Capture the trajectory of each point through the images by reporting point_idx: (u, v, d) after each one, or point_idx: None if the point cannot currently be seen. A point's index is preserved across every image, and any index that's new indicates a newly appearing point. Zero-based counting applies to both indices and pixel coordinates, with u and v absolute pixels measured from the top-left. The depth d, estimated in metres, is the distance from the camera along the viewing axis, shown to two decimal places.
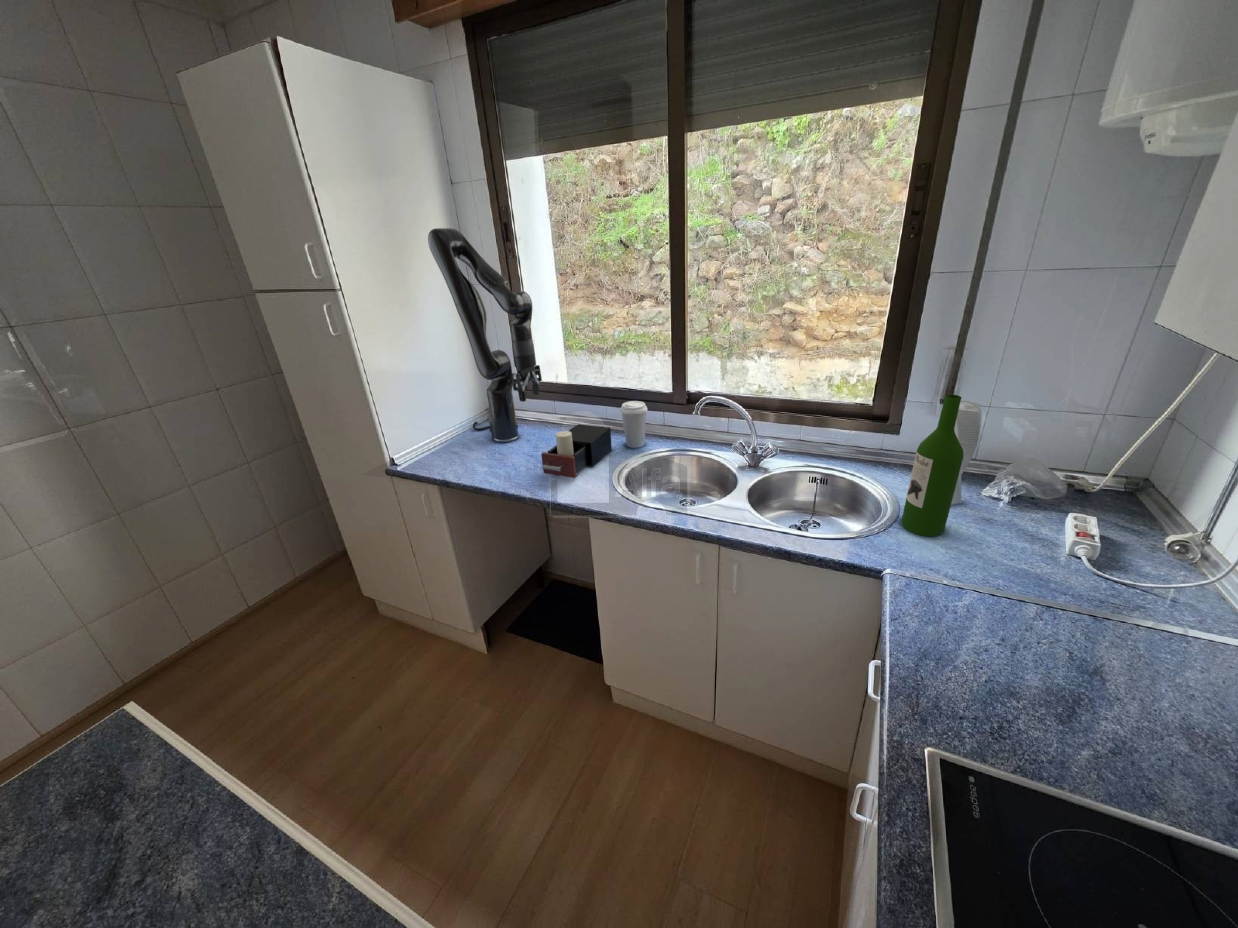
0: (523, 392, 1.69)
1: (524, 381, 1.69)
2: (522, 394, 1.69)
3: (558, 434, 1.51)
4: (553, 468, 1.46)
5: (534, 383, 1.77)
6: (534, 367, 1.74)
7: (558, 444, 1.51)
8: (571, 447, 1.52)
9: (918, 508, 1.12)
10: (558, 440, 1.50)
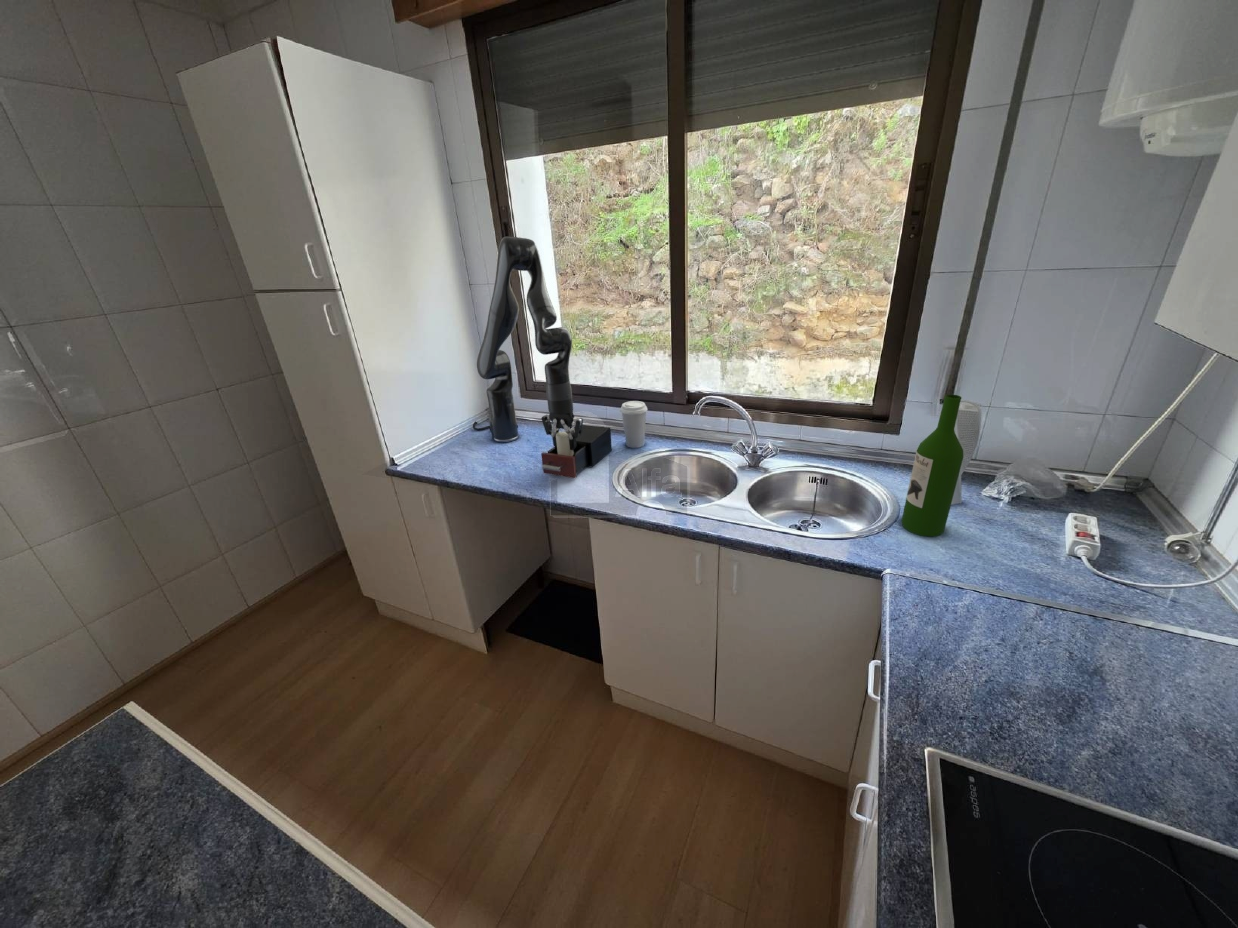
0: (554, 438, 1.52)
1: None
2: (553, 439, 1.53)
3: (558, 434, 1.51)
4: (553, 468, 1.46)
5: None
6: (574, 419, 1.47)
7: (558, 444, 1.51)
8: None
9: (918, 508, 1.12)
10: (558, 440, 1.50)
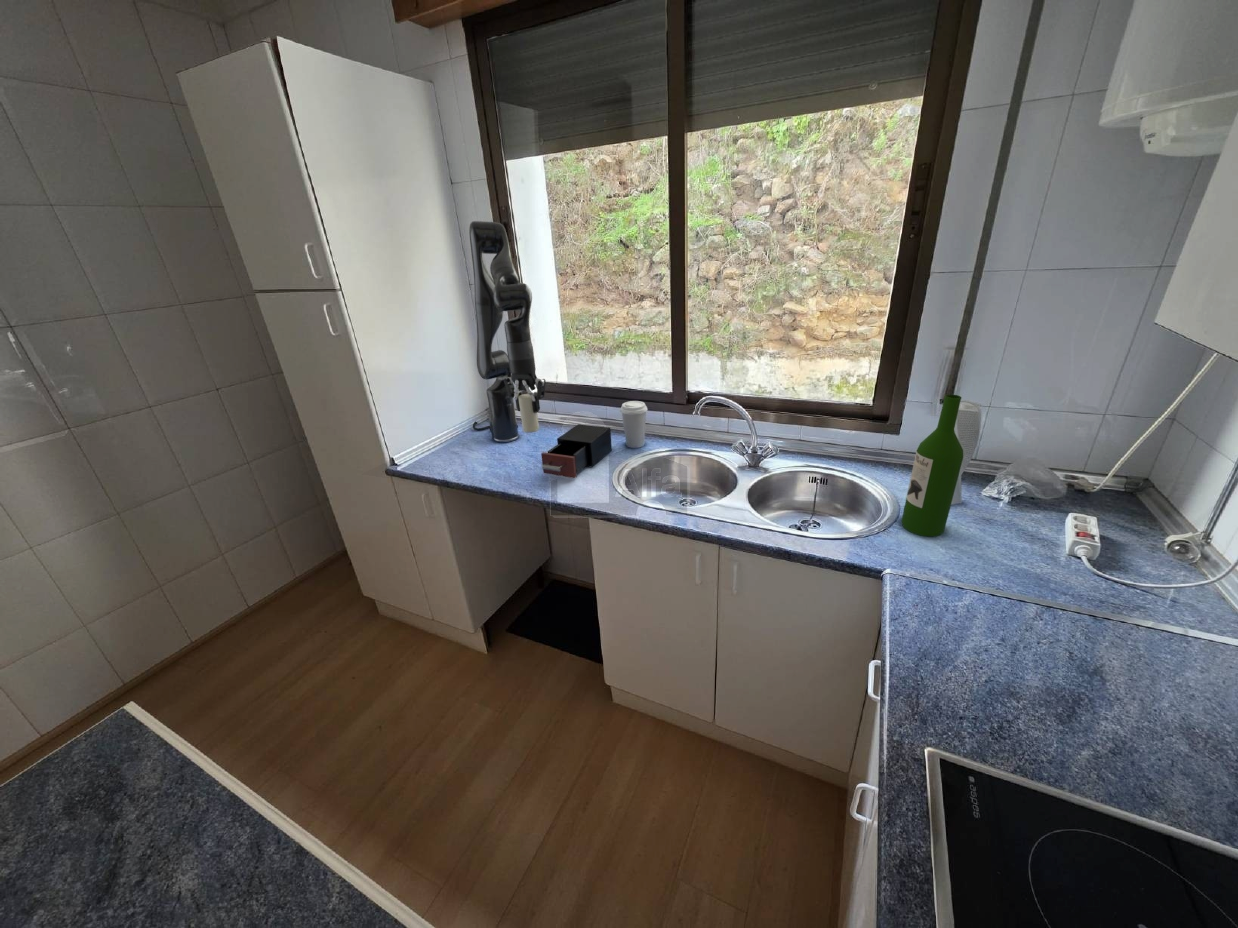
0: (517, 401, 1.49)
1: (515, 389, 1.47)
2: (516, 402, 1.49)
3: (521, 396, 1.47)
4: (553, 468, 1.46)
5: None
6: (536, 379, 1.43)
7: (521, 406, 1.47)
8: None
9: (918, 508, 1.12)
10: (521, 402, 1.46)
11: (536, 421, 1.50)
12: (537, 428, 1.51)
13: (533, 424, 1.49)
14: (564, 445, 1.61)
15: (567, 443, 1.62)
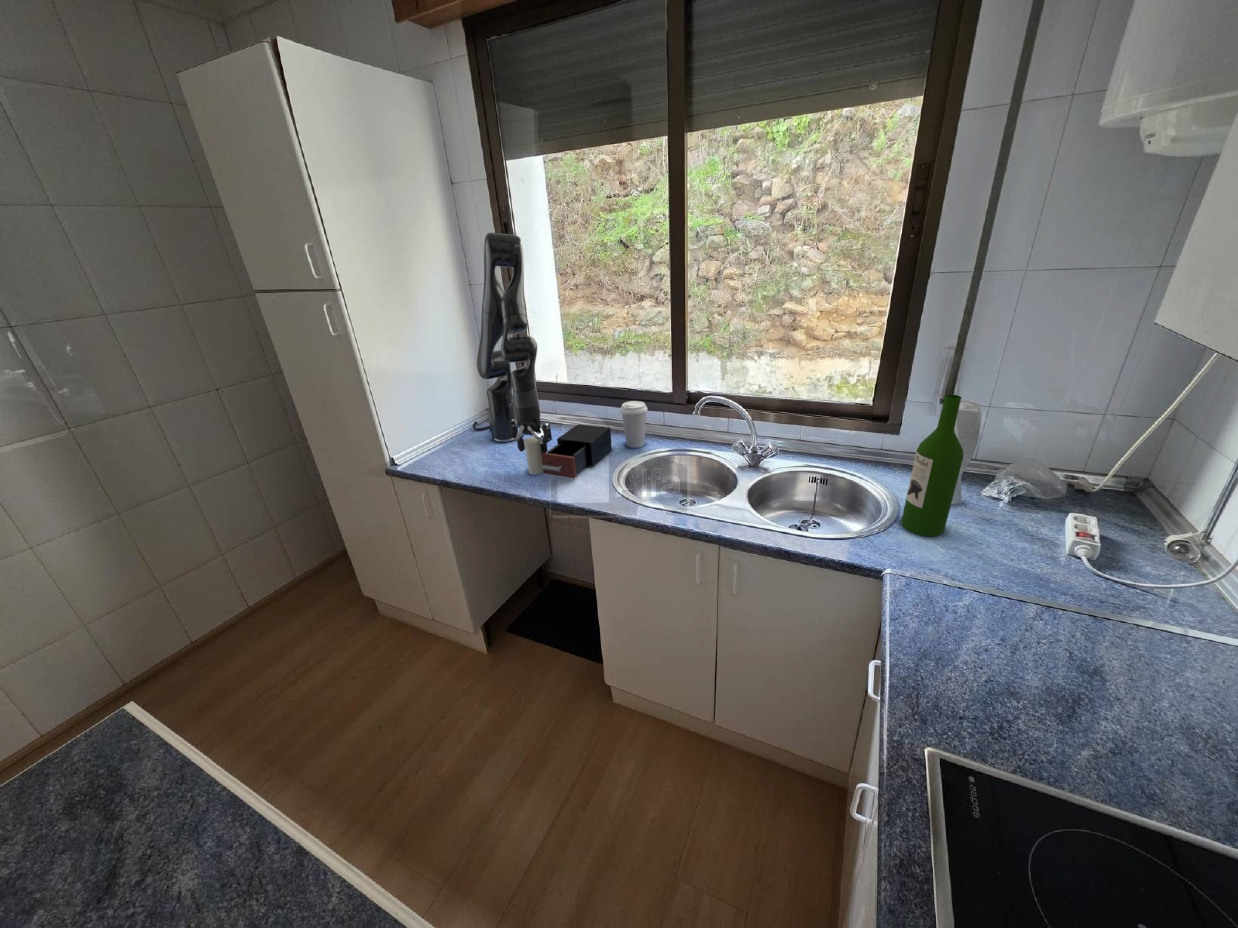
0: (518, 442, 1.55)
1: None
2: (518, 443, 1.56)
3: (526, 440, 1.53)
4: (553, 468, 1.46)
5: None
6: (540, 424, 1.49)
7: (527, 450, 1.53)
8: (540, 453, 1.54)
9: (918, 508, 1.12)
10: (526, 446, 1.52)
11: (541, 463, 1.56)
12: (542, 469, 1.57)
13: (538, 466, 1.55)
14: (564, 445, 1.61)
15: (567, 443, 1.61)
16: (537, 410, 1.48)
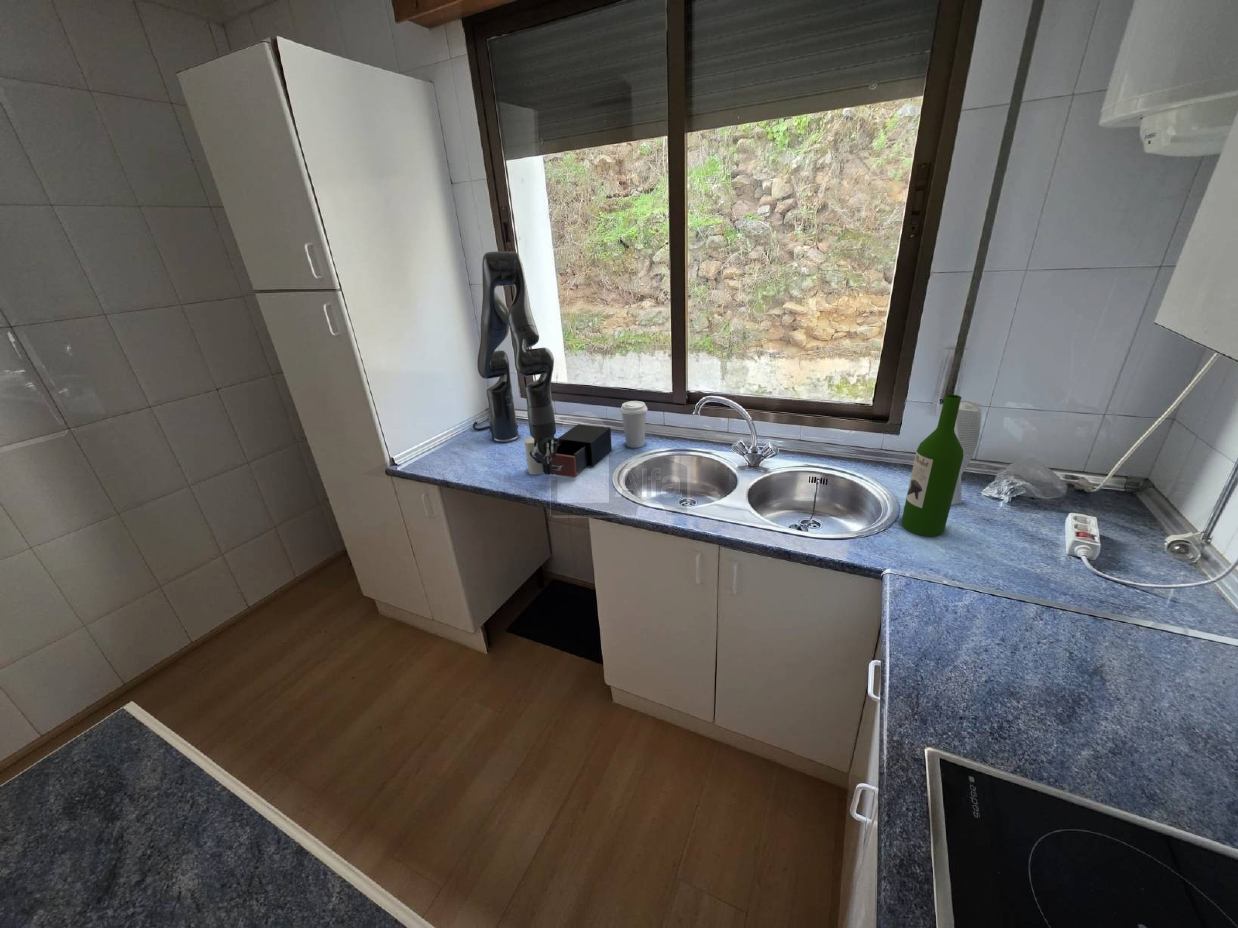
0: (548, 464, 1.44)
1: (546, 454, 1.42)
2: (547, 467, 1.44)
3: (526, 440, 1.53)
4: (554, 467, 1.47)
5: None
6: (553, 437, 1.46)
7: (527, 450, 1.53)
8: None
9: (918, 508, 1.12)
10: (526, 446, 1.52)
11: None
12: (542, 469, 1.57)
13: (538, 466, 1.55)
14: (565, 445, 1.61)
15: (568, 443, 1.62)
16: None
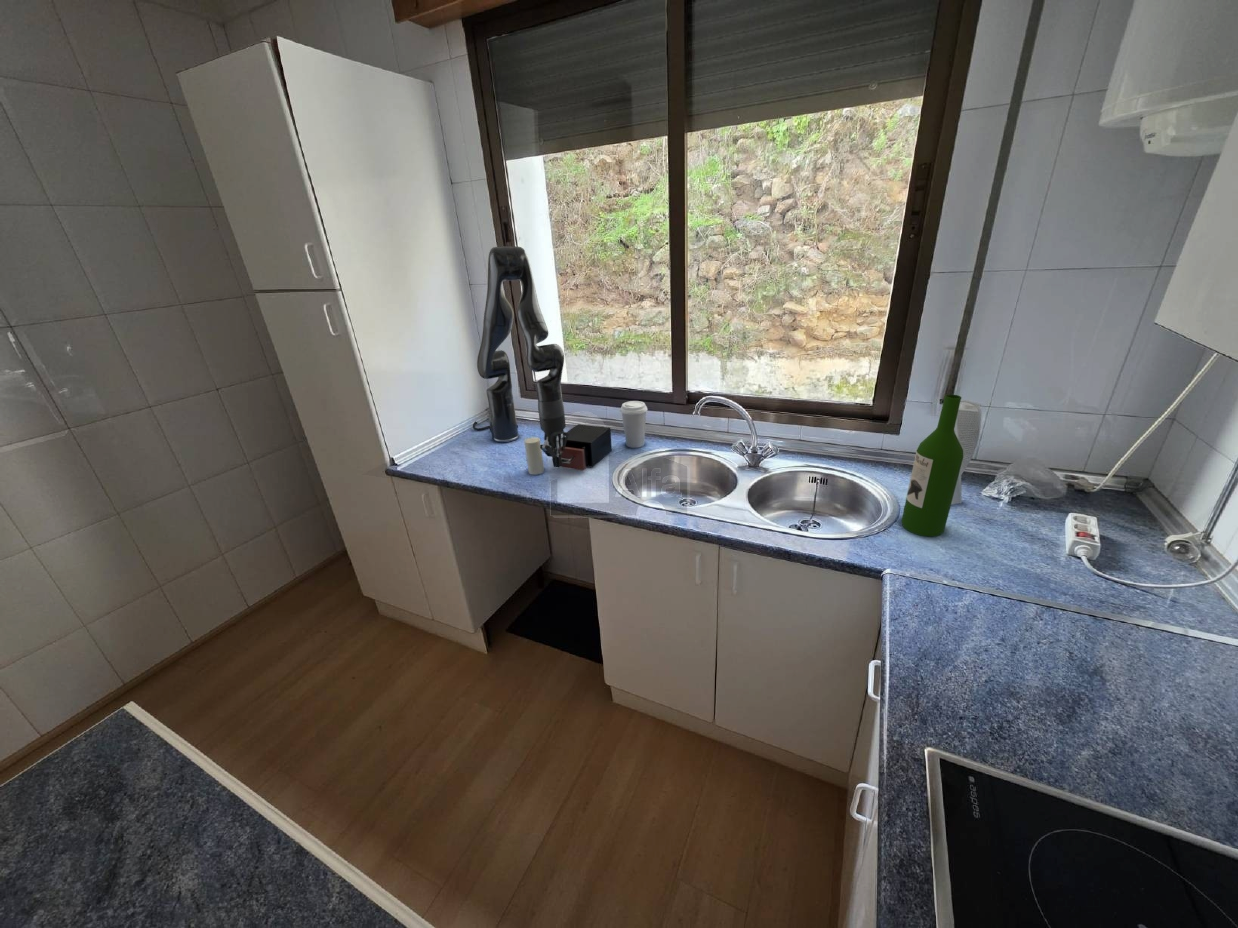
0: (558, 457, 1.49)
1: (555, 447, 1.46)
2: (557, 460, 1.49)
3: (526, 440, 1.53)
4: (563, 460, 1.51)
5: None
6: (563, 431, 1.50)
7: (527, 450, 1.53)
8: (540, 453, 1.54)
9: (918, 508, 1.12)
10: (526, 446, 1.52)
11: (541, 463, 1.56)
12: (542, 469, 1.57)
13: (538, 466, 1.55)
14: None
15: None
16: None
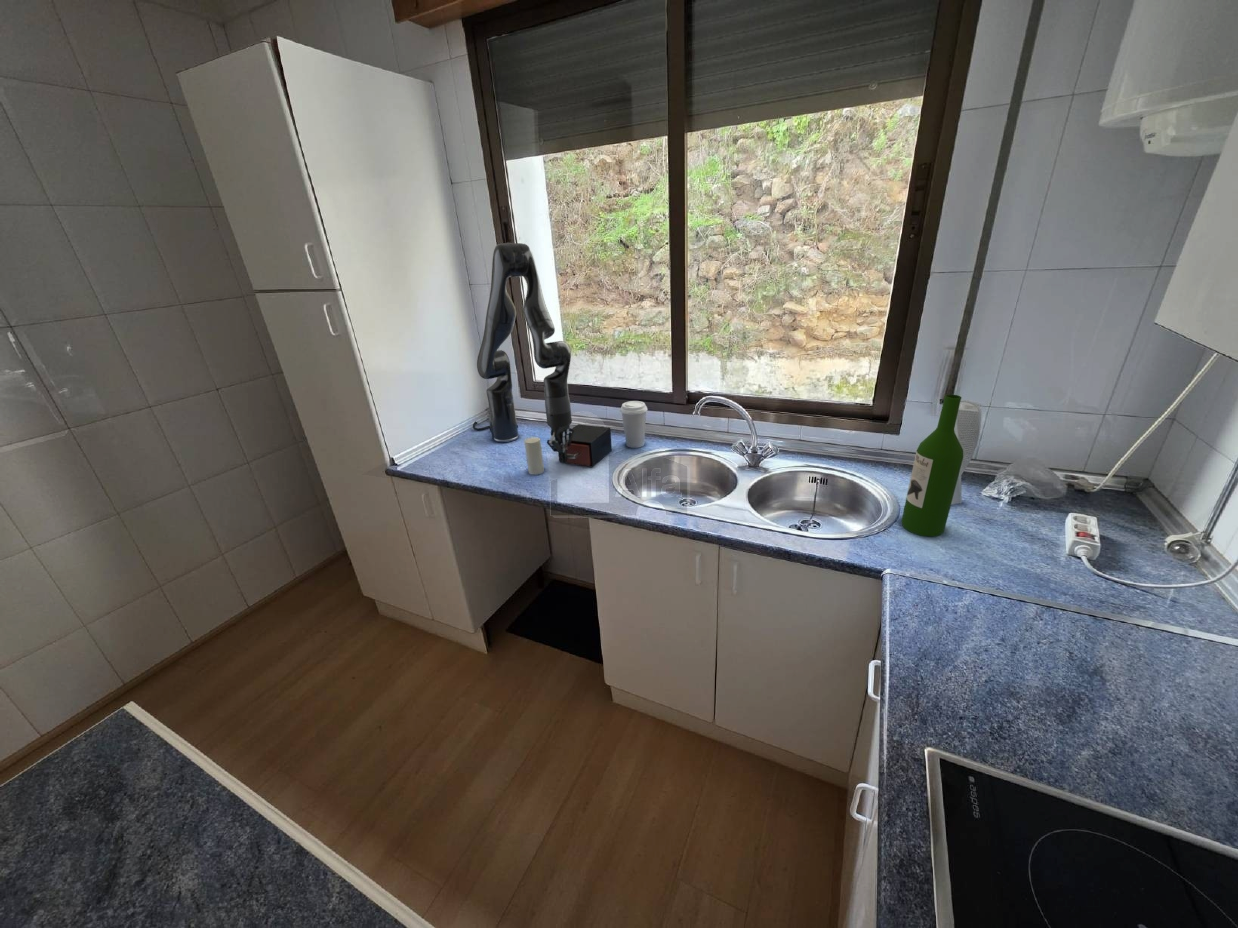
0: (564, 453, 1.52)
1: (562, 443, 1.49)
2: (563, 455, 1.52)
3: (526, 440, 1.53)
4: (569, 456, 1.54)
5: None
6: (569, 427, 1.53)
7: (527, 450, 1.53)
8: (540, 453, 1.54)
9: (918, 508, 1.12)
10: (526, 446, 1.52)
11: (541, 463, 1.56)
12: (542, 469, 1.57)
13: (538, 466, 1.55)
14: None
15: None
16: None
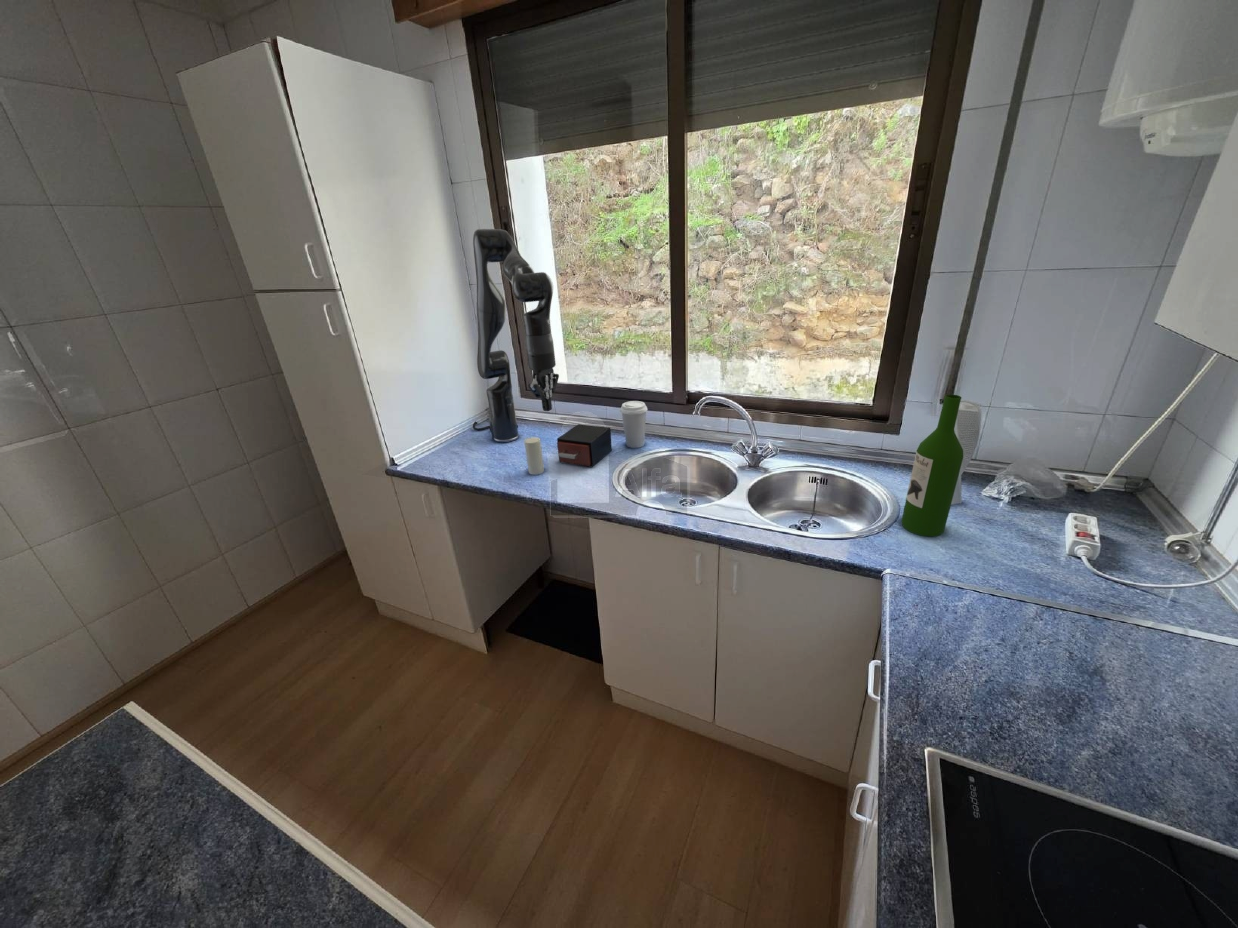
0: (547, 400, 1.39)
1: (545, 388, 1.36)
2: (546, 402, 1.39)
3: (526, 440, 1.53)
4: (569, 456, 1.54)
5: None
6: (553, 372, 1.41)
7: (527, 450, 1.53)
8: (540, 453, 1.54)
9: (918, 508, 1.12)
10: (526, 446, 1.52)
11: (541, 463, 1.56)
12: (542, 469, 1.57)
13: (538, 466, 1.55)
14: None
15: None
16: None
